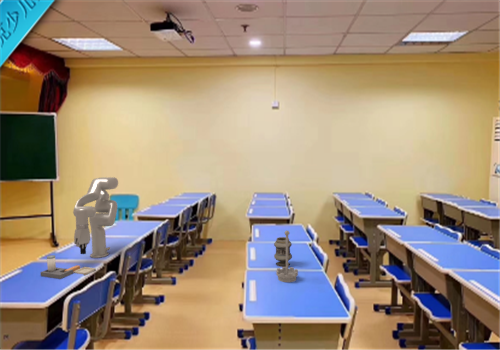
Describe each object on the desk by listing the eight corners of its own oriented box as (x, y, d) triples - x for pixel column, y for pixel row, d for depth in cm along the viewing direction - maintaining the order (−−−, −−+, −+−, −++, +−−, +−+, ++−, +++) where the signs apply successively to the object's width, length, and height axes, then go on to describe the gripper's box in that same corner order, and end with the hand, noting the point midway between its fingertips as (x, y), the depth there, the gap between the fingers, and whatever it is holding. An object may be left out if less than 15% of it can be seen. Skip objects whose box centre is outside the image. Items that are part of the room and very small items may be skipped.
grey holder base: (54, 271, 243) (53, 267, 243) (73, 274, 238) (73, 269, 237) (40, 276, 233) (40, 272, 233) (60, 279, 228) (60, 275, 228)
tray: (84, 269, 247) (84, 266, 247) (95, 270, 244) (95, 268, 244) (73, 273, 239) (73, 271, 238) (85, 275, 235) (84, 273, 235)
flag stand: (297, 283, 219) (297, 233, 216) (274, 282, 222) (274, 232, 219) (298, 275, 232) (298, 228, 229) (277, 274, 234) (277, 227, 232)
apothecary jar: (270, 263, 256) (270, 237, 254) (286, 260, 261) (286, 235, 259) (279, 268, 245) (279, 241, 243) (295, 265, 250) (295, 239, 248)
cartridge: (52, 272, 240) (51, 254, 239) (58, 273, 238) (57, 255, 237) (45, 274, 235) (44, 257, 234) (51, 275, 234) (50, 257, 233)
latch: (76, 268, 247) (76, 265, 246) (80, 269, 246) (80, 265, 245) (64, 273, 237) (64, 270, 237) (68, 274, 236) (68, 270, 236)
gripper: (86, 224, 257) (87, 250, 258) (68, 228, 242) (70, 256, 244) (94, 224, 254) (95, 251, 255) (78, 229, 240) (79, 257, 241)
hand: (83, 253), depth 249 cm, fingers closed
